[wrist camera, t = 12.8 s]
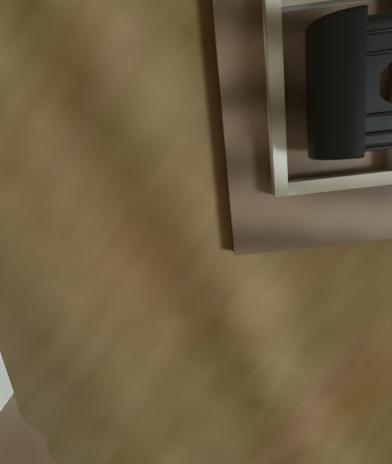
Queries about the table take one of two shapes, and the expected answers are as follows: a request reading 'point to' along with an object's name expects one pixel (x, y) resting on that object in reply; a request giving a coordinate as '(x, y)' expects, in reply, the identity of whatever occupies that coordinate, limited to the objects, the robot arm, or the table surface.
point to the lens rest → (289, 135)
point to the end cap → (347, 84)
